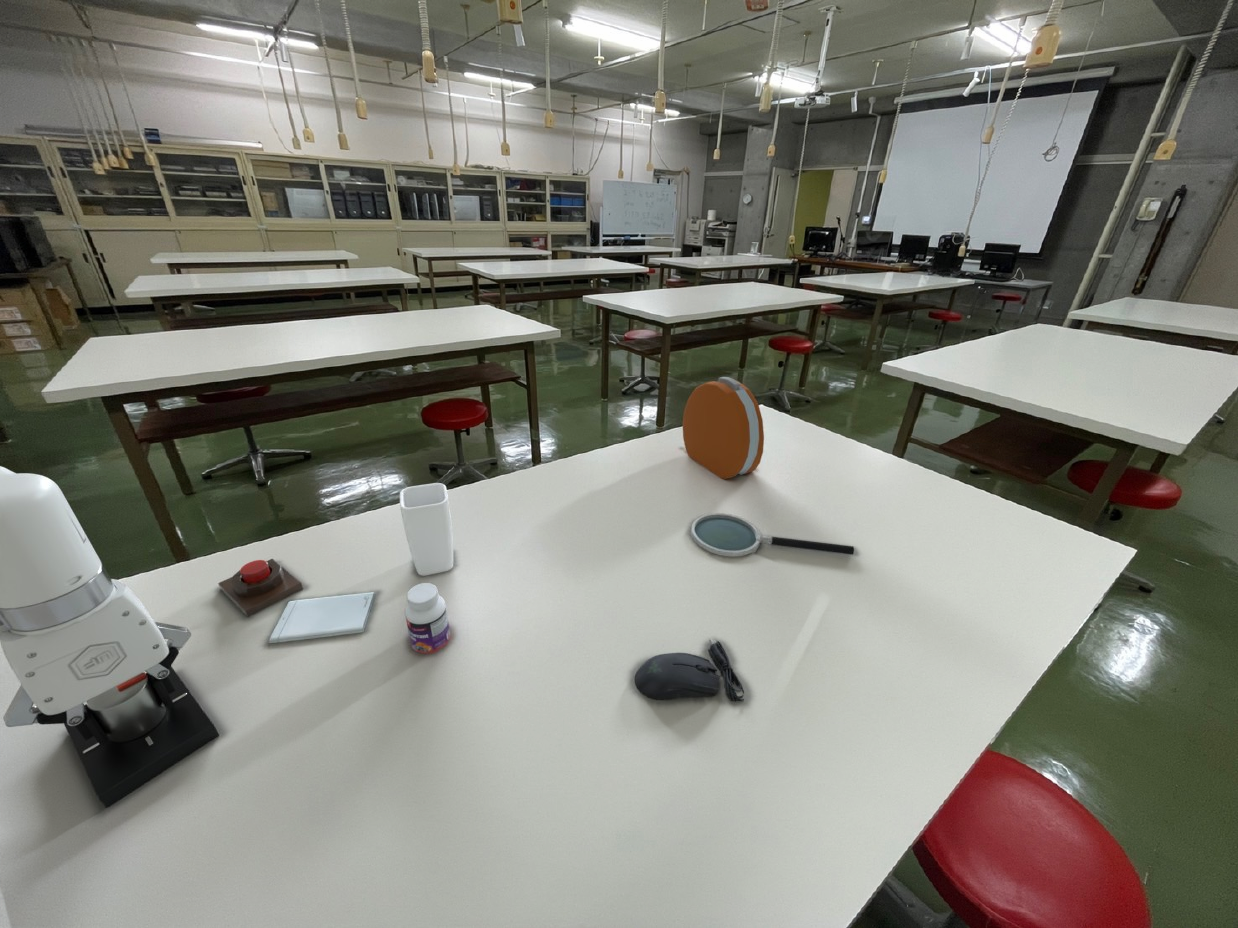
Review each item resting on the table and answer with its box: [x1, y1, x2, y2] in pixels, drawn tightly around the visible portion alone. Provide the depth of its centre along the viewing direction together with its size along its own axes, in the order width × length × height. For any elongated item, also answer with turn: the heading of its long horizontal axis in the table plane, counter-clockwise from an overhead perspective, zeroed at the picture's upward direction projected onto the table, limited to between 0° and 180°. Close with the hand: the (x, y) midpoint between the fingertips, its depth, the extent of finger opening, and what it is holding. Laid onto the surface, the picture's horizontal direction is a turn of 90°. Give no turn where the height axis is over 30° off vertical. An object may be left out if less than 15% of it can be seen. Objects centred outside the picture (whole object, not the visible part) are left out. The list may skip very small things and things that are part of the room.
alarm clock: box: [682, 376, 765, 480], centre depth 123 cm, size 22×10×23 cm, turn 30°
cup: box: [399, 482, 454, 576], centre depth 85 cm, size 7×7×15 cm
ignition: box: [217, 558, 304, 618], centre depth 80 cm, size 10×8×4 cm
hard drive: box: [268, 591, 376, 644], centre depth 76 cm, size 2×8×12 cm
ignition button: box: [239, 559, 270, 583], centre depth 79 cm, size 4×4×2 cm
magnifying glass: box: [690, 512, 855, 558], centre depth 97 cm, size 13×31×2 cm, turn 81°
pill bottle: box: [404, 582, 451, 654], centre depth 71 cm, size 5×5×10 cm
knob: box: [86, 671, 166, 742], centre depth 56 cm, size 5×5×6 cm
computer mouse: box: [634, 637, 745, 703], centre depth 68 cm, size 10×15×4 cm
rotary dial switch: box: [63, 665, 220, 809], centre depth 58 cm, size 14×10×3 cm
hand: (134, 715), depth 57 cm, fingers closed on knob, 5 cm apart
